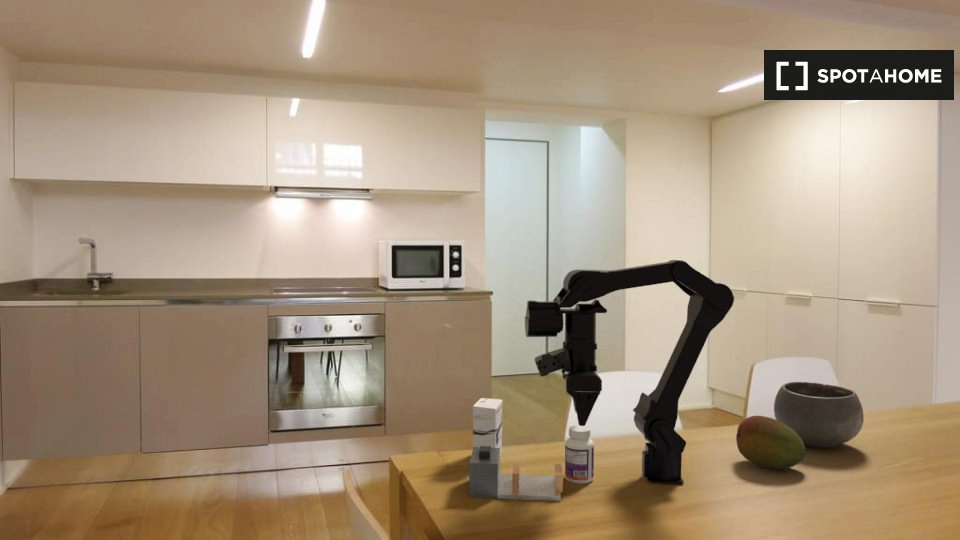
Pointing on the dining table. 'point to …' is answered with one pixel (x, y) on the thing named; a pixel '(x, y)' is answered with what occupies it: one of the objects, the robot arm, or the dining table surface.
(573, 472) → the pill bottle
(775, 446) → the fruit
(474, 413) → the ink box
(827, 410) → the bowl
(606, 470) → the dining table surface
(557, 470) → the grey block with slats
